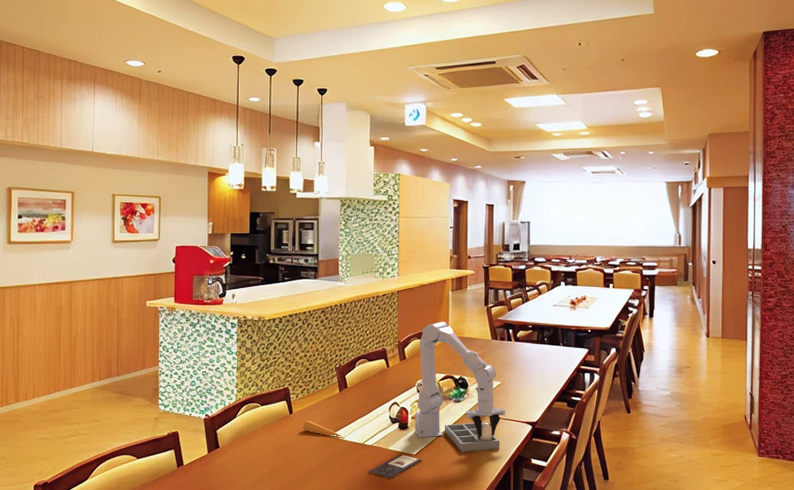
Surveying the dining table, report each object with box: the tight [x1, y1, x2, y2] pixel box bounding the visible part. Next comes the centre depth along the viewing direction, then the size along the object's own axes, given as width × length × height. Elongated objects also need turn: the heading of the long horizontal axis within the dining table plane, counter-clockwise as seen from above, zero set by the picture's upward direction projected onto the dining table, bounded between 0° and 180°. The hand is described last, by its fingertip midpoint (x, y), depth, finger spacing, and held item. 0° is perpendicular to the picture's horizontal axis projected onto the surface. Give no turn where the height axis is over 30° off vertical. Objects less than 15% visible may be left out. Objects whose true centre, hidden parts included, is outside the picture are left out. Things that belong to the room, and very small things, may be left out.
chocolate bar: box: [368, 453, 422, 479], centre depth 198 cm, size 9×1×18 cm
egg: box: [480, 421, 492, 441], centre depth 216 cm, size 4×4×6 cm
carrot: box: [302, 420, 342, 436], centre depth 231 cm, size 20×4×4 cm, turn 61°
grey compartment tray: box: [444, 422, 500, 453], centre depth 222 cm, size 14×21×3 cm
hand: (485, 435), depth 216 cm, fingers closed on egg, 4 cm apart
